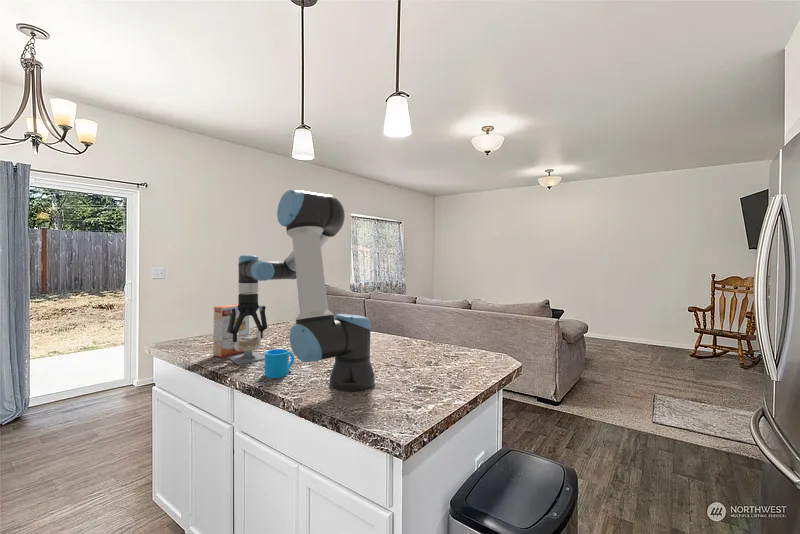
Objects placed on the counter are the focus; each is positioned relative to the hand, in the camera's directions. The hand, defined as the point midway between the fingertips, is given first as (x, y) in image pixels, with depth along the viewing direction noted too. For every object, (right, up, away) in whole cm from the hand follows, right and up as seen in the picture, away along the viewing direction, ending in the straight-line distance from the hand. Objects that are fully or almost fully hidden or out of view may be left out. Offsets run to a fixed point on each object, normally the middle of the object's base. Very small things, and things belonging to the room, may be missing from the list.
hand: (247, 348), depth 153 cm
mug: (+19, -5, -18) cm, 27 cm away
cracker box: (-10, -4, +8) cm, 14 cm away
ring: (0, 0, 0) cm, 0 cm away
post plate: (0, -4, 0) cm, 4 cm away
